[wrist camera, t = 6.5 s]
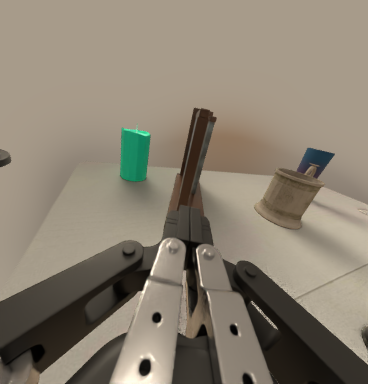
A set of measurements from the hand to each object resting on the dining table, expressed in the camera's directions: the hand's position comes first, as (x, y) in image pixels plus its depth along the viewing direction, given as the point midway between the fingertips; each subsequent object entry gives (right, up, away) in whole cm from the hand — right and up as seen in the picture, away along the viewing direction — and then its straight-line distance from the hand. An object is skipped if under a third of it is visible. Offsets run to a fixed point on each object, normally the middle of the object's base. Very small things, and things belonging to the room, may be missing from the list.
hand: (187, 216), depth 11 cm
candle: (-13, +6, +25) cm, 29 cm away
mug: (+23, -3, +25) cm, 34 cm away
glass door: (-1, 0, +15) cm, 15 cm away
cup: (+38, +1, +41) cm, 56 cm away
